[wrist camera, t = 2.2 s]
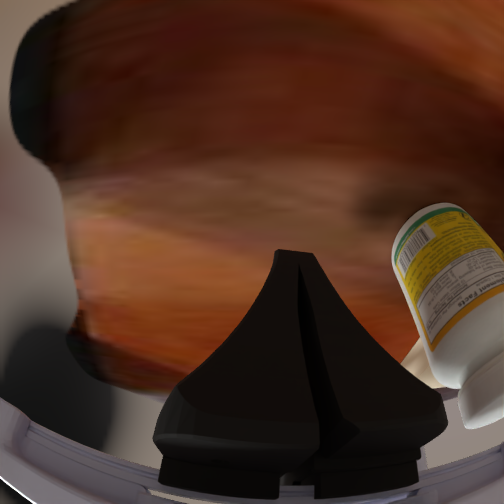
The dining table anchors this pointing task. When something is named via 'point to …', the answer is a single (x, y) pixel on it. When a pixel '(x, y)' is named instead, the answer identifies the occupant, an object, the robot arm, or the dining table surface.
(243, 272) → the dining table surface
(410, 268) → the supplement bottle
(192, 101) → the dining table surface
